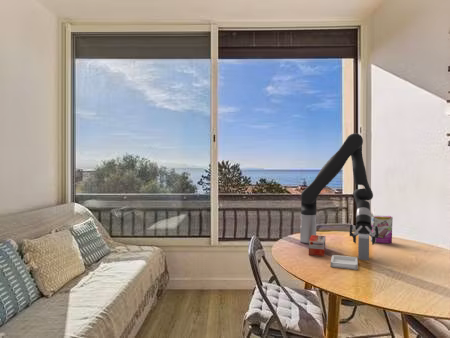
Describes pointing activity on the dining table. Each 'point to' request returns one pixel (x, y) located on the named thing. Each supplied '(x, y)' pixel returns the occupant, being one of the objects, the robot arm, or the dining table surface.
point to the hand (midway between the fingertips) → (364, 243)
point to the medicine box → (317, 245)
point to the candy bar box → (382, 228)
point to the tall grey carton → (363, 246)
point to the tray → (344, 262)
